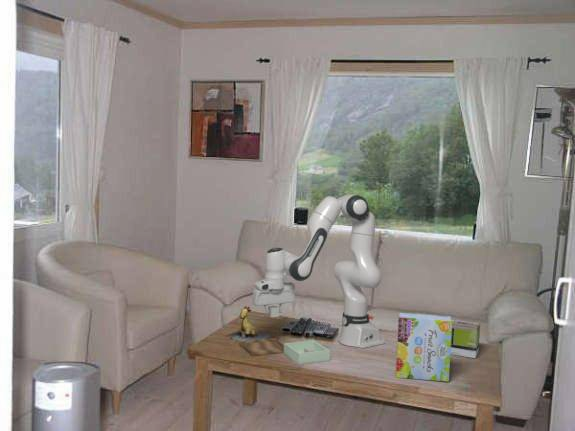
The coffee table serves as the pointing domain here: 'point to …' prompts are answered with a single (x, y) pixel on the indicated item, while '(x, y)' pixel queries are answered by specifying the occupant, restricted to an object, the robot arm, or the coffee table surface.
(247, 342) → the walnut tray
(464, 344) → the tea box
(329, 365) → the coffee table surface
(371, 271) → the robot arm
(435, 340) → the snack box
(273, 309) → the stone cube
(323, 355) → the green bin
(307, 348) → the stone cube
